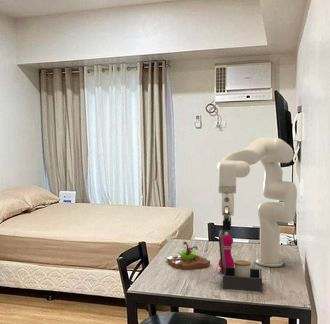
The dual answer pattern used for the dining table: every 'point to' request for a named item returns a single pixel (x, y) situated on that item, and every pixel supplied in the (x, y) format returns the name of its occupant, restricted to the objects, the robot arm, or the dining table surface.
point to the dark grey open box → (242, 280)
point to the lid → (222, 252)
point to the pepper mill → (227, 251)
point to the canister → (242, 268)
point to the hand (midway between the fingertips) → (227, 227)
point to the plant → (188, 259)
